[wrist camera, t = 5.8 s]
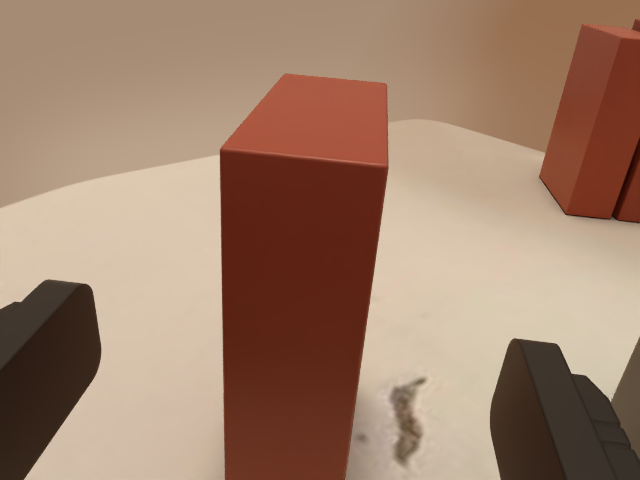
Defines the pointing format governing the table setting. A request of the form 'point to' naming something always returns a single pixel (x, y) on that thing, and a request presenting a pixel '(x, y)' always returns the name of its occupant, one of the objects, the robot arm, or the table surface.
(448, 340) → the table surface
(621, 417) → the grey books
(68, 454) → the table surface
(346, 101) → the red book
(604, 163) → the red books
